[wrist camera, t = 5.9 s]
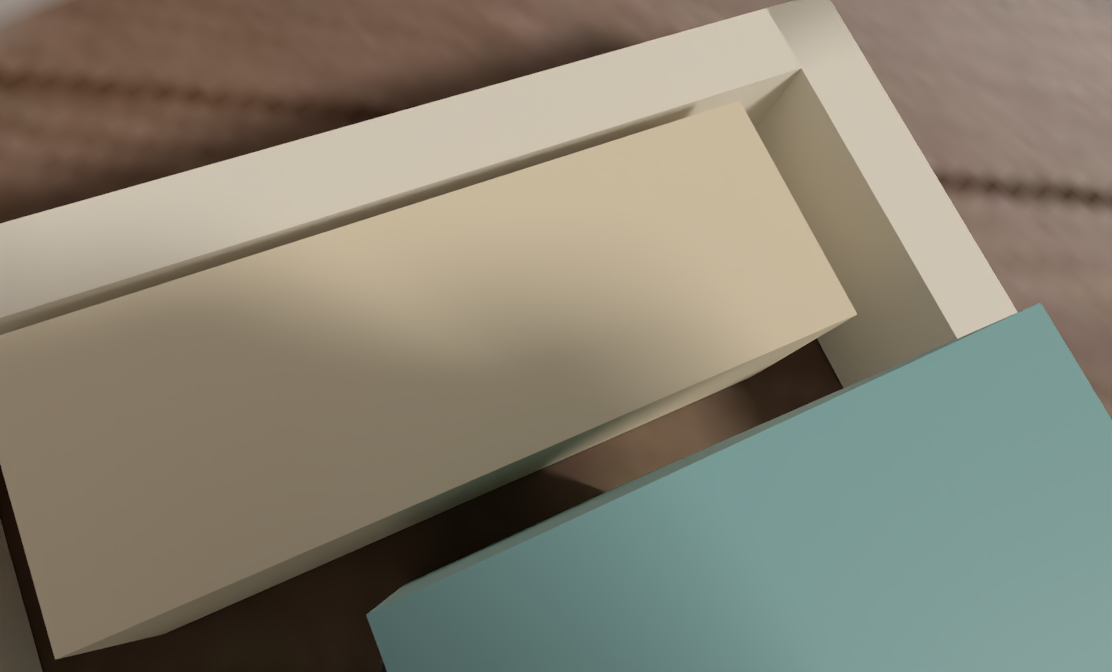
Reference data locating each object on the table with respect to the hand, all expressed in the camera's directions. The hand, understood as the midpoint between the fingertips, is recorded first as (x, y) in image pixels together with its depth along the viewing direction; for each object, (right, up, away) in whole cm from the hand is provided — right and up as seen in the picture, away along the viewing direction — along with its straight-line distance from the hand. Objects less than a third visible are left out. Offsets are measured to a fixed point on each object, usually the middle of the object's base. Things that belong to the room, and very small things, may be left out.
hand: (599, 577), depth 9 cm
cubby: (-2, 0, +7) cm, 7 cm away
